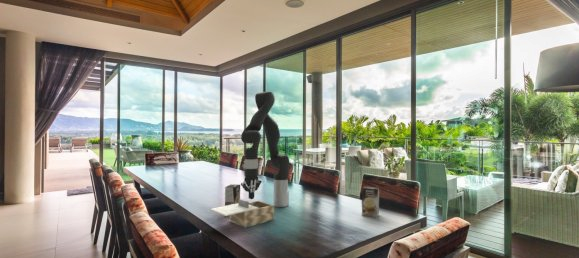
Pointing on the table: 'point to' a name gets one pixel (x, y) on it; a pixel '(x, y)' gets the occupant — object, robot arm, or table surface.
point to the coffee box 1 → (232, 194)
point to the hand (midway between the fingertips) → (251, 198)
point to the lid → (234, 208)
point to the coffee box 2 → (370, 201)
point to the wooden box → (254, 215)
